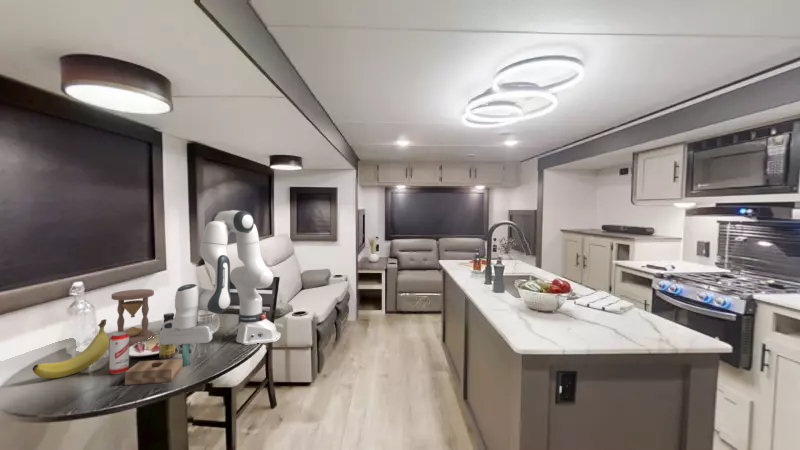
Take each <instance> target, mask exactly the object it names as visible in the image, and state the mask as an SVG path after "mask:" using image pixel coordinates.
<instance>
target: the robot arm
mask: <svg viewBox="0 0 800 450" xmlns="http://www.w3.org/2000/svg"><path fill="white" fill-rule="evenodd" d="M256 225H257V224H255V220H254V217H253V215H252V214H251V212H249V211H246V210H236V209H231V210H221V211H217V212H216V213H214V214H213V215H212V217H211V220H210V222H208V223H206V225H205V228H204V230H203V234H202V237H201V241H200V246H199V247H200V248H199V253H200V254H199V255H200V257H201V259H202V260H203V261H204V262H205V263H207V264H209V265H210V266H211V267H212V268H213V270H214V274H215V277H214V289H211V288H203V287H200V286H198V285H197V284H195V283H189V284H183V285H182V286H180V287H178V288H177V290H176V293H175V296H174V297H175V299H174V308H175V313H174V319H171V320H168V321H166V322H165V323H164V322H163V323H162V324H161V328H162V330H161V329H160V330H161V331H160V330H159V336H158V338H159V339H158V344H161V345H172V344H175V350H177V355H182V346H181V345H182V344H190V345H191V346H192V347H190V349H189V353H190V354H194V353H195V348H196V347H197V345H198V344H207V343H210V342H211V341H212V340H213V332H212V331H213V323H212V322H211V321H208V320H205V321H202V320H201V321H199V312H200V311H205V312H210V313H212V314H217V315H219V314H223V313H224V312H225V311H227V310H228V308H230V306H231V303H232V297H231V289H230V288H231V287H230V285H231V283H232V284H233V285H234V287H235V288H236V291H237V294H238V298H239V313H238V317H237V318H238V320H237V321H238V322H237V323H238V331H237V334H236V339H235V341H236V343H239V344H242V345H244V346H249V345H257V343H259V344H267V343H274V342H278V340H280V338H281V337H282V335H281V334H282V333H281V332H279V331H277V327H276V325H275V323H274V322H272V321H270V320H269V319H268V318H267V314H266V313H267V312H264V311H263V297H262V296H261V294H260V293H259V292H258V291H257V289H266V288H269V287H271V285H272V284H273V282H274V274H273V271H271V269H269V268H268V267H267V264H266V263H265V261H264V260H263V257H262V253H261V244H260V236H259V232H258V229H257V228H258V227H257V226H256ZM231 233H235V237H236V238H235V240H236V249H237V257H238V259H239V261H241V262H242V263H243V266H238V267H235V268H232V270H231V262H230V259H229V257H228V243H229V242H228V241H229V235H230V234H231ZM230 282H231V283H230Z"/></svg>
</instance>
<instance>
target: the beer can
mask: <svg viewBox="0 0 800 450" xmlns="http://www.w3.org/2000/svg"><path fill="white" fill-rule="evenodd" d="M127 333H128V332H118V331H116V332H113V333H112V334H111V336H110V338H109V359H108V360H109V362H108V363H109V365H108V366H109V369H108V370H109V373H110V374H112V375H120V374H123V373H125V372H126V371H127V370H129V369H130V345H129V335H128V334H127Z"/></svg>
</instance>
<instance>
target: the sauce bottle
mask: <svg viewBox="0 0 800 450" xmlns="http://www.w3.org/2000/svg"><path fill="white" fill-rule="evenodd" d="M174 318H175V313H173V312H168V313H164V314H163V323H165V322H166V321H168V320H171V319H174ZM161 330H162V327H161V328H160V330H159V332H160V331H161ZM158 344H159V346H158V347H159V349H158V357H159V359H161V360H166V359H170V358H173V357H174V356H175V355H176V347H175V344H172V345H161V344H160V343H158Z"/></svg>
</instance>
